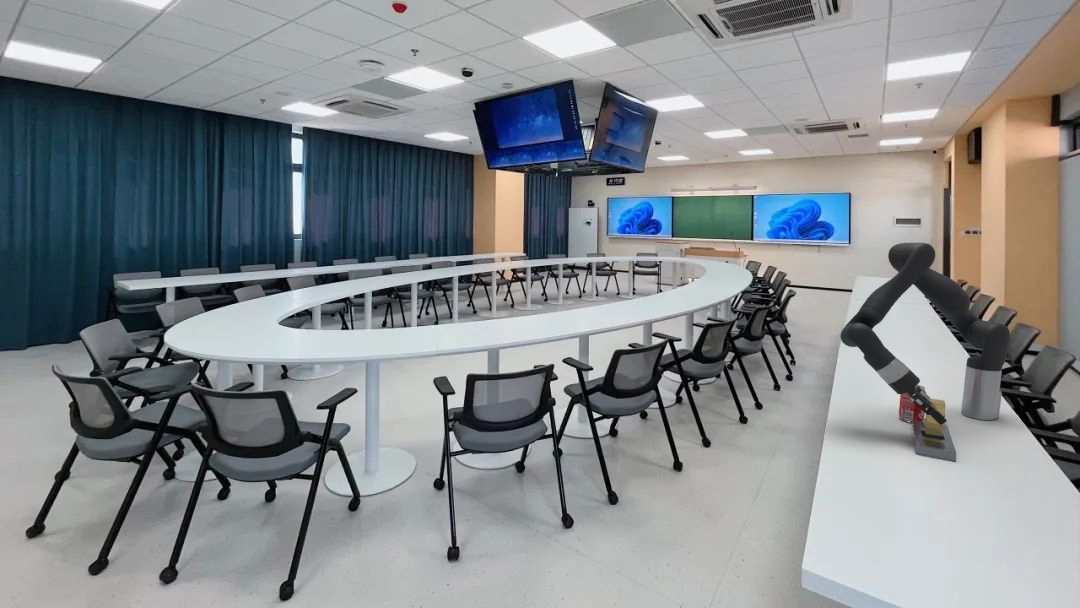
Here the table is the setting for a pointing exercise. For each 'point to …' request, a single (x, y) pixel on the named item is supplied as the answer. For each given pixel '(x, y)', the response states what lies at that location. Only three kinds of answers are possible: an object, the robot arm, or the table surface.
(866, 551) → the table surface
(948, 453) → the grey square hole plate
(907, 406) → the soda can
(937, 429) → the tan square peg
